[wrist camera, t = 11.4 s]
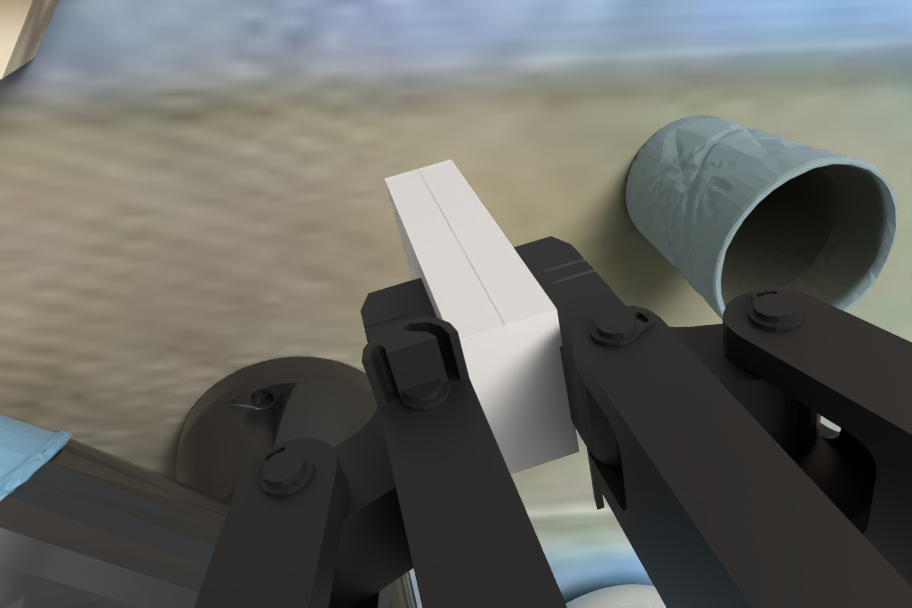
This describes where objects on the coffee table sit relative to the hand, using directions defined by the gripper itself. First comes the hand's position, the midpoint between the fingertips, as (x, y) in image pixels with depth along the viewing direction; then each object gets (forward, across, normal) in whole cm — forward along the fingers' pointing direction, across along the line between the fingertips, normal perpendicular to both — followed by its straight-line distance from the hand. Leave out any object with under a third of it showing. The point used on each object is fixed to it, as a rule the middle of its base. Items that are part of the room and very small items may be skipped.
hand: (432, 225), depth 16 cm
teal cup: (+25, -19, +13) cm, 34 cm away
